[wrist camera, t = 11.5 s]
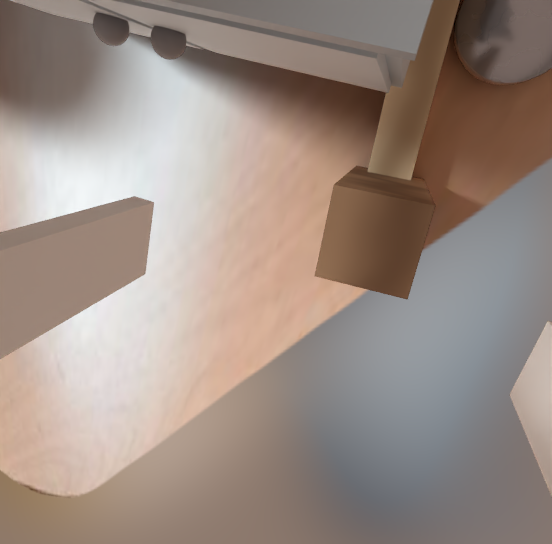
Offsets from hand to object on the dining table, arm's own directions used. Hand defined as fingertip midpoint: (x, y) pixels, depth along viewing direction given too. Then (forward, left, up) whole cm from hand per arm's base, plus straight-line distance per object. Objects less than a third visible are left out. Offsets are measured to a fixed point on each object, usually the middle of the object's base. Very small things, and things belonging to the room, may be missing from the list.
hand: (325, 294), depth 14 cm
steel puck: (+5, +13, -21) cm, 25 cm away
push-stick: (+1, +8, -21) cm, 22 cm away
